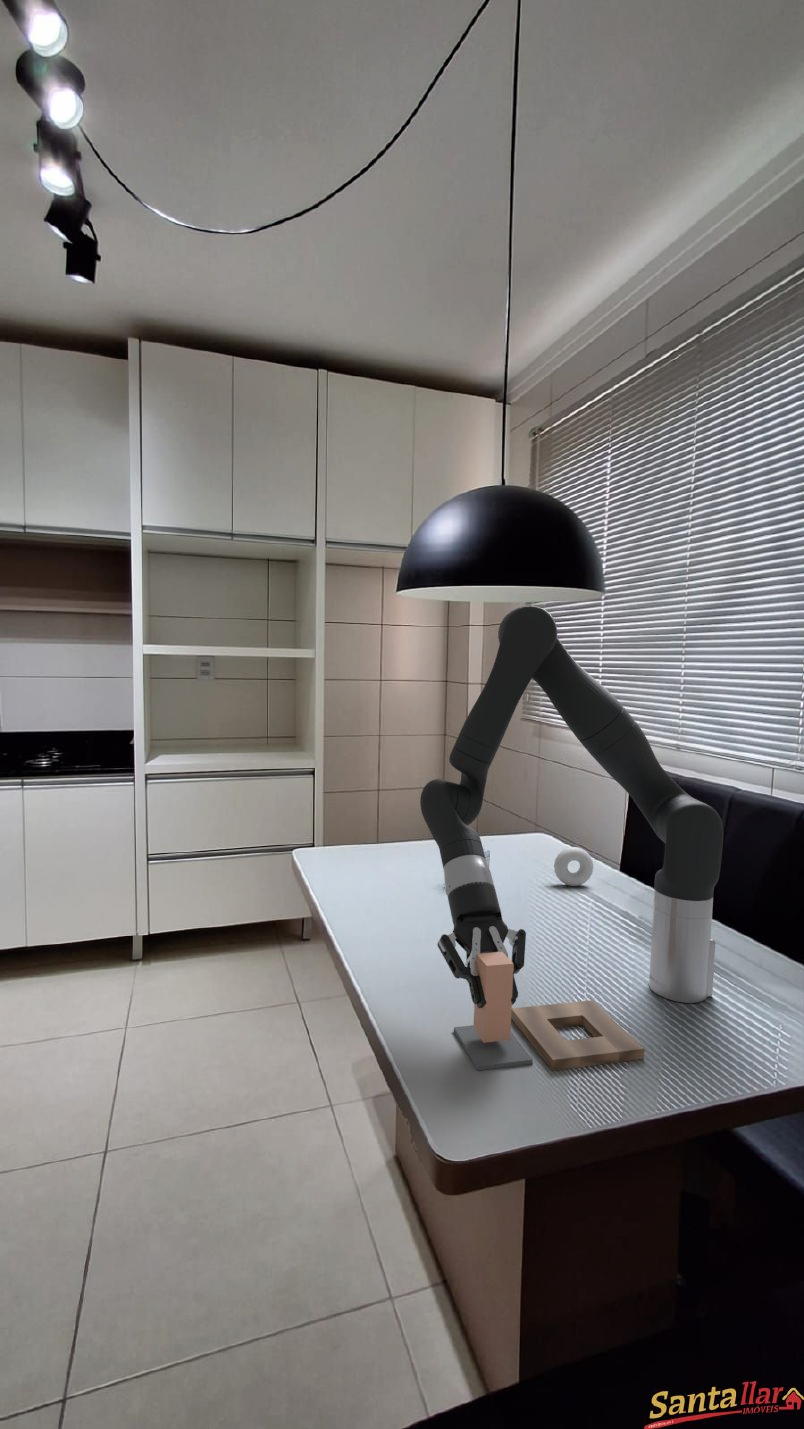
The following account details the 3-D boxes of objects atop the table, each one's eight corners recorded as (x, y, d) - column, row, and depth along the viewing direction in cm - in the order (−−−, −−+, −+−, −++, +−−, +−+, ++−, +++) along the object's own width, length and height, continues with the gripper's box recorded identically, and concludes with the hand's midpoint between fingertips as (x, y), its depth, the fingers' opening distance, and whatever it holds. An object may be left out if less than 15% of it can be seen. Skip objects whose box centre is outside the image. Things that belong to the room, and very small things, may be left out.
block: (499, 1024, 98) (502, 951, 97) (510, 1039, 94) (513, 963, 93) (473, 1027, 97) (476, 953, 96) (483, 1042, 93) (486, 965, 92)
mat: (503, 1025, 101) (504, 1021, 101) (532, 1063, 92) (532, 1059, 91) (453, 1031, 99) (453, 1027, 99) (477, 1070, 90) (477, 1066, 90)
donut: (590, 884, 172) (591, 845, 171) (594, 888, 168) (596, 849, 168) (551, 883, 172) (553, 844, 171) (555, 887, 168) (556, 848, 167)
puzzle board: (592, 1009, 107) (592, 1000, 107) (643, 1058, 93) (644, 1048, 93) (510, 1017, 104) (511, 1008, 103) (552, 1070, 90) (553, 1059, 90)
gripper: (432, 882, 100) (455, 1000, 89) (520, 877, 103) (553, 991, 92) (421, 904, 105) (442, 1018, 94) (505, 899, 109) (534, 1009, 98)
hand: (497, 1004), depth 94 cm, fingers closed on block, 3 cm apart
